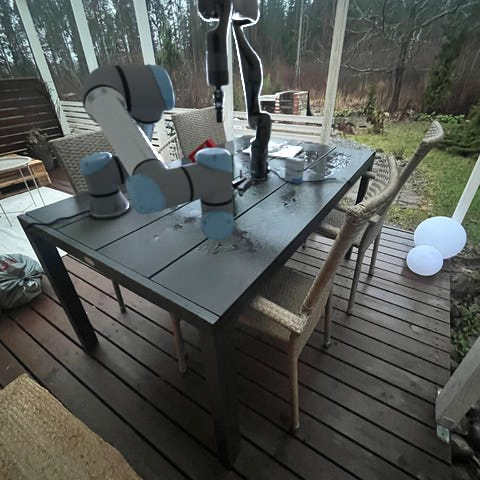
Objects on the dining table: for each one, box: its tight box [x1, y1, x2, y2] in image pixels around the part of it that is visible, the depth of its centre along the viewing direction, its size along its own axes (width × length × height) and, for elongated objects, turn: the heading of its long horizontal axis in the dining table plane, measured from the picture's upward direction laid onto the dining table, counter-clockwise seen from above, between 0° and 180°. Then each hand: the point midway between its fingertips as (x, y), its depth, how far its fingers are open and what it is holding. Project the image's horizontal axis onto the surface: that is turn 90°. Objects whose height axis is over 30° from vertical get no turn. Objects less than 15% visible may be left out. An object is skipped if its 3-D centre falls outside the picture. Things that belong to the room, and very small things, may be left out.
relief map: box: [242, 138, 304, 160], centre depth 192 cm, size 27×35×5 cm
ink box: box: [284, 156, 306, 185], centre depth 140 cm, size 8×5×12 cm, turn 47°
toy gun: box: [188, 138, 217, 164], centre depth 168 cm, size 18×4×15 cm
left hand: (220, 173), depth 91 cm, fingers open, 13 cm apart
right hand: (220, 120), depth 101 cm, fingers open, 8 cm apart
